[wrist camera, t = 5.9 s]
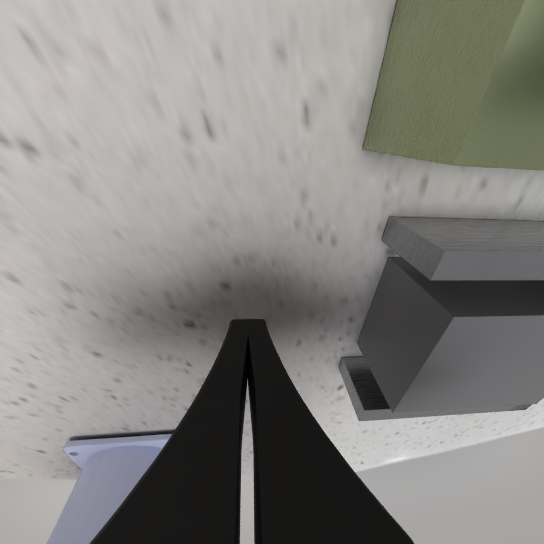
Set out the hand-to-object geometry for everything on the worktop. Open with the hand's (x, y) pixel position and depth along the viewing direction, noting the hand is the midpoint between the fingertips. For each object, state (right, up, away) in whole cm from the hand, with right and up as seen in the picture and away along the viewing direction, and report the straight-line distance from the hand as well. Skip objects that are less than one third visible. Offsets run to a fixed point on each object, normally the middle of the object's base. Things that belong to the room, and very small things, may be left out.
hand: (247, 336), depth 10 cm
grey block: (+9, +1, +2) cm, 10 cm away
